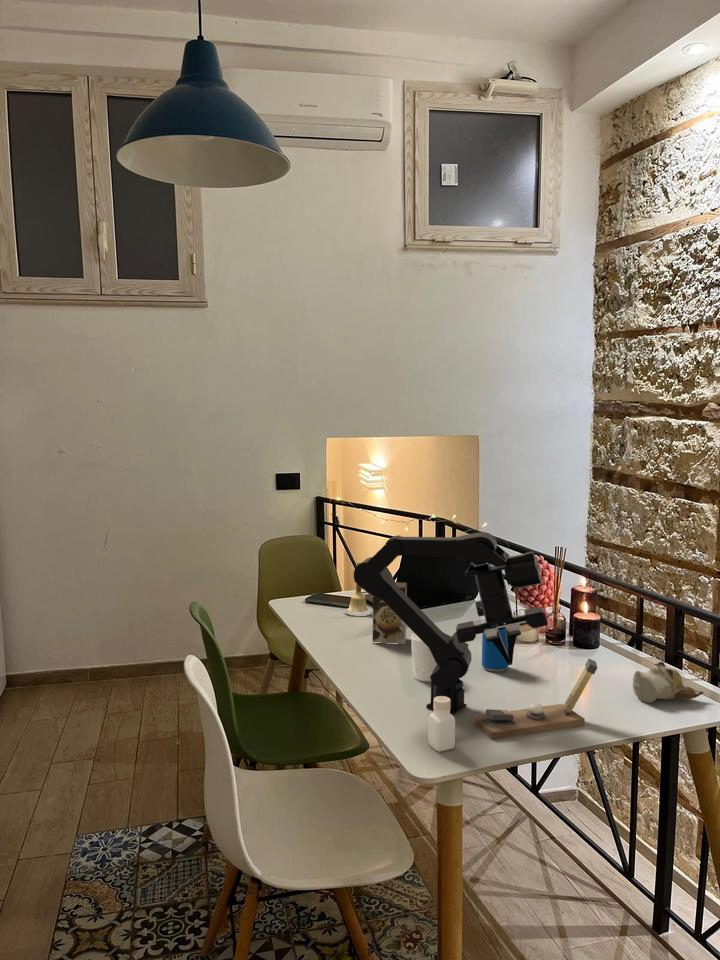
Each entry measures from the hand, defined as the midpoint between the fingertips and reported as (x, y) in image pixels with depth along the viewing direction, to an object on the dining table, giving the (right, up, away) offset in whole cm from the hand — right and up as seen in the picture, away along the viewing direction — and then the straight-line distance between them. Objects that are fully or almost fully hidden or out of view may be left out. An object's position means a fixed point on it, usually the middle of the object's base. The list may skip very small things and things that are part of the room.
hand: (510, 664), depth 156 cm
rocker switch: (-4, -10, -6) cm, 12 cm away
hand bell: (-32, -3, +78) cm, 84 cm away
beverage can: (+2, -8, +29) cm, 30 cm away
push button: (+5, -9, -3) cm, 11 cm away
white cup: (-15, -9, +23) cm, 29 cm away
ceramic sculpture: (+36, -10, +10) cm, 39 cm away
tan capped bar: (+12, -9, -1) cm, 15 cm away
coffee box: (-23, -6, +50) cm, 55 cm away
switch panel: (+3, -11, -4) cm, 12 cm away
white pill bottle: (-16, -13, -14) cm, 25 cm away
